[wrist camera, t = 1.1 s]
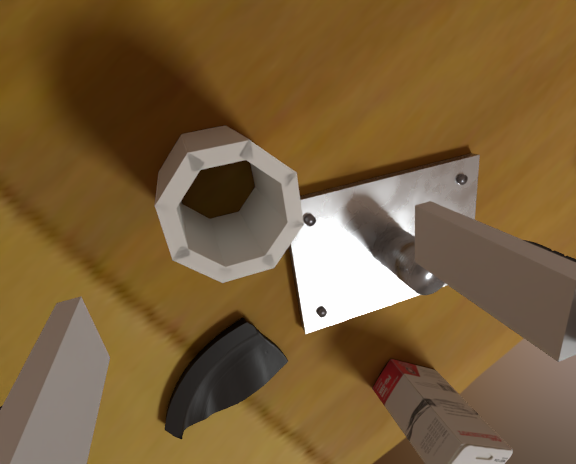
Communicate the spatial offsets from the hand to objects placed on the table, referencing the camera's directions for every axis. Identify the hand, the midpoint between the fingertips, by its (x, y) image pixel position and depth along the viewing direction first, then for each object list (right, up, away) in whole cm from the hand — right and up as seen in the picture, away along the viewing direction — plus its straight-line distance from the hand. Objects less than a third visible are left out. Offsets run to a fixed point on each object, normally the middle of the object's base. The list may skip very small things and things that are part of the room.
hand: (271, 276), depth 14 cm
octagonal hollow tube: (-5, +6, +14) cm, 16 cm away
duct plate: (+10, +1, +22) cm, 24 cm away
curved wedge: (-6, -12, +22) cm, 26 cm away
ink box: (+15, -17, +31) cm, 38 cm away
